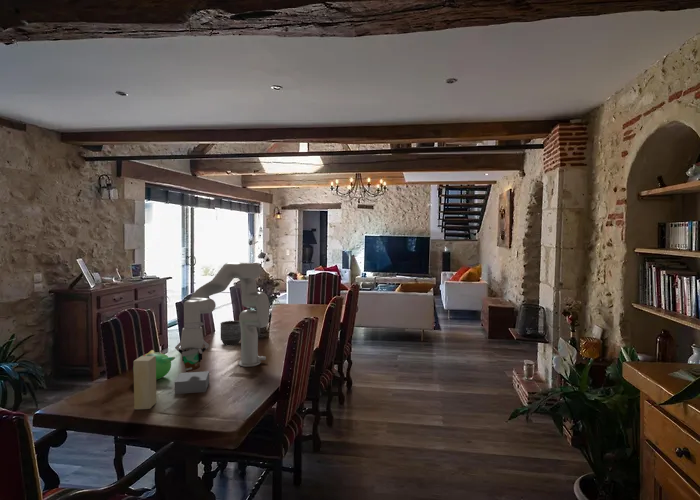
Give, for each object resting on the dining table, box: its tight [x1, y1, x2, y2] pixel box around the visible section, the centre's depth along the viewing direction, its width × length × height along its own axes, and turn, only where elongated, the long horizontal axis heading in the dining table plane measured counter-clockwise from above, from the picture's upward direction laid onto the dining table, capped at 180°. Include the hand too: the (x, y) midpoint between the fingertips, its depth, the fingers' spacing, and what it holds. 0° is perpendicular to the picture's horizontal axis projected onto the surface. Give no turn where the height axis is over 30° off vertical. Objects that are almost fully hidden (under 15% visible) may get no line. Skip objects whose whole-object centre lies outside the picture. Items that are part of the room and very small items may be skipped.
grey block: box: [174, 370, 210, 395], centre depth 211 cm, size 14×14×6 cm
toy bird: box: [132, 349, 176, 381], centre depth 222 cm, size 18×17×15 cm
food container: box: [181, 348, 201, 373], centre depth 210 cm, size 12×6×10 cm, turn 1°
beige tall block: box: [133, 355, 157, 410], centre depth 187 cm, size 8×7×21 cm
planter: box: [220, 320, 241, 346], centre depth 299 cm, size 14×14×15 cm
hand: (192, 361), depth 210 cm, fingers closed on food container, 6 cm apart
